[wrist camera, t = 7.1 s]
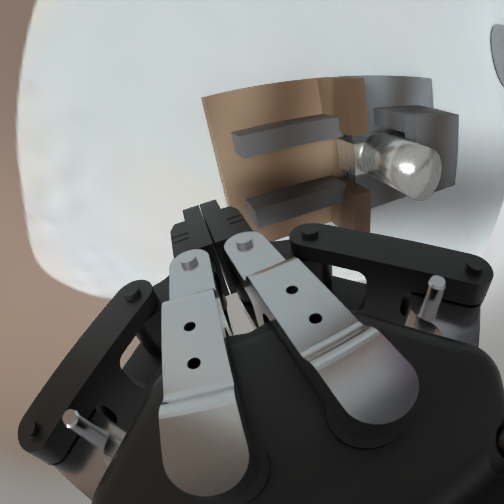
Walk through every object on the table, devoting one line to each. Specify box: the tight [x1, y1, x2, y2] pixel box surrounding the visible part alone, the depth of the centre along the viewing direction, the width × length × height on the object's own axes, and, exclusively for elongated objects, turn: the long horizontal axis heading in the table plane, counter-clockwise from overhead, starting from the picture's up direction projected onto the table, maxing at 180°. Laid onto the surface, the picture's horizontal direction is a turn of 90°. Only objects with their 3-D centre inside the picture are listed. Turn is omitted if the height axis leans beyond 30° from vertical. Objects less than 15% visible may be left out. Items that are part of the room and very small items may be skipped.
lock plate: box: [201, 76, 459, 241], centre depth 16 cm, size 18×10×5 cm, turn 101°
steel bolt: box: [337, 130, 442, 201], centre depth 15 cm, size 8×3×6 cm, turn 101°
